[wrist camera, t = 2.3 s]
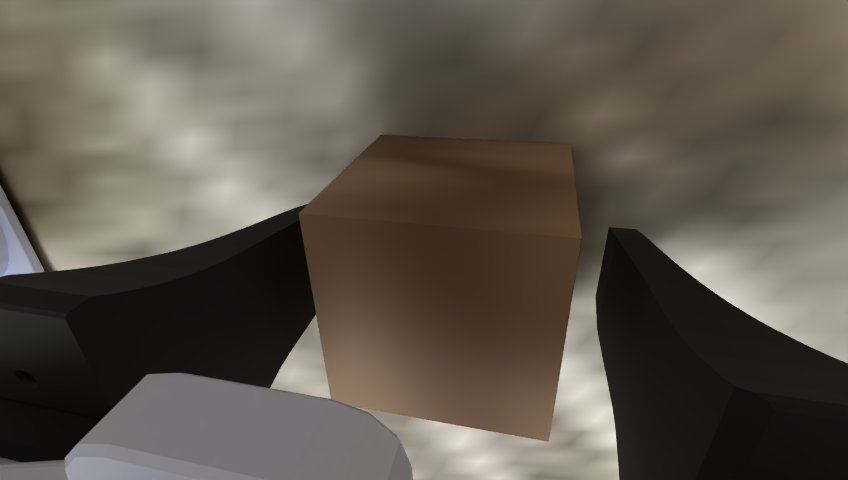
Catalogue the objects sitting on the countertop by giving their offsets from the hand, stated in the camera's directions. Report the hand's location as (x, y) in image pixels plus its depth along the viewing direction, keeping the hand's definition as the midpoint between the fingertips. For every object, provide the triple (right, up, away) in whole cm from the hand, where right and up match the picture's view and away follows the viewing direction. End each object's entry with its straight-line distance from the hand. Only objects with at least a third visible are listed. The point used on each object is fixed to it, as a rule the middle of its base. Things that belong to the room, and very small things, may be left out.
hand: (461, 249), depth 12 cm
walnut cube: (0, +1, +1) cm, 2 cm away
